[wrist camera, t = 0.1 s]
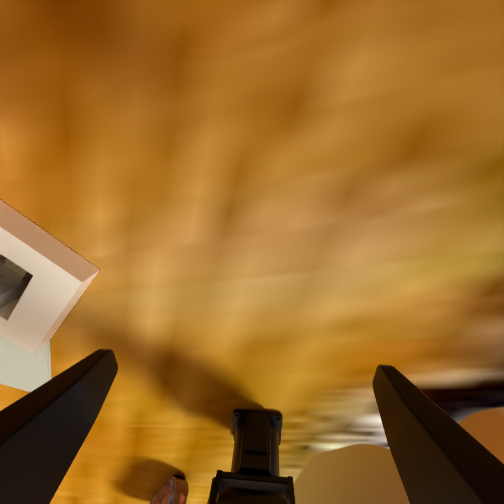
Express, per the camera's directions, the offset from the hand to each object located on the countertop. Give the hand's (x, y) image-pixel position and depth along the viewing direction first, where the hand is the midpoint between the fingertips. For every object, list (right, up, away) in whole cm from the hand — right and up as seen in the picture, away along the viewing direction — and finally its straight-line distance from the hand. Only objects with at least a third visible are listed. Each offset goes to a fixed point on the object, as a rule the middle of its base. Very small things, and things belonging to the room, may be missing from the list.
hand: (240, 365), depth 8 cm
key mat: (-31, -9, +23) cm, 40 cm away
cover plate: (-24, +2, +17) cm, 30 cm away
